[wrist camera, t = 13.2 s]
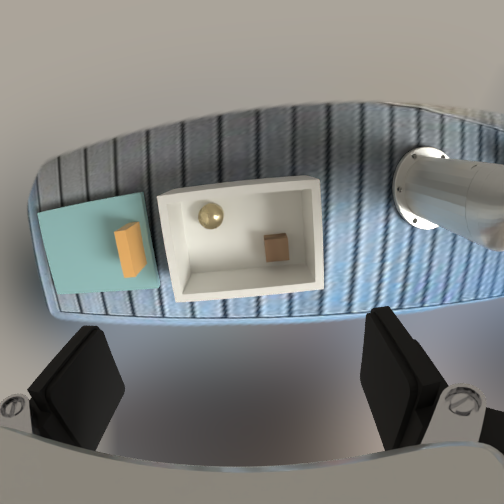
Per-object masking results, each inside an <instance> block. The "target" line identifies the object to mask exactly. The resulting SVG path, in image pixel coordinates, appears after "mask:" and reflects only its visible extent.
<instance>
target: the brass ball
mask: <svg viewBox="0 0 504 504" xmlns="http://www.w3.org/2000/svg"><path fill="white" fill-rule="evenodd" d="M223 218H224V211H223V209H222V207H221V206H220V205H218V204H217V203H208V204H206V205H204V206H203V207H202V209H201V210H200V211H199V214H198V220H199V222H200V224H201V225H202V226H203V227H204V228H206V229H215V228H217V227H219V226H220V225H221V223H222V221H223Z"/></svg>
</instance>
